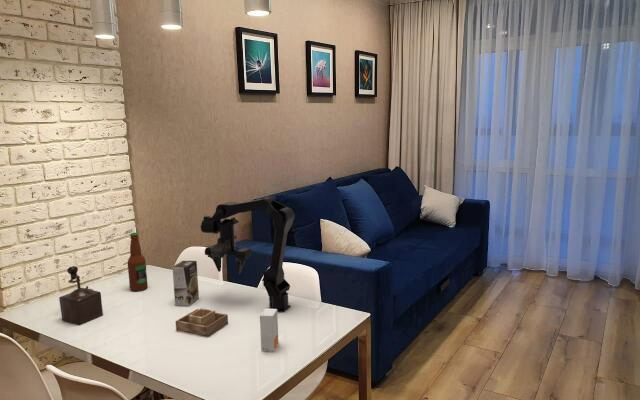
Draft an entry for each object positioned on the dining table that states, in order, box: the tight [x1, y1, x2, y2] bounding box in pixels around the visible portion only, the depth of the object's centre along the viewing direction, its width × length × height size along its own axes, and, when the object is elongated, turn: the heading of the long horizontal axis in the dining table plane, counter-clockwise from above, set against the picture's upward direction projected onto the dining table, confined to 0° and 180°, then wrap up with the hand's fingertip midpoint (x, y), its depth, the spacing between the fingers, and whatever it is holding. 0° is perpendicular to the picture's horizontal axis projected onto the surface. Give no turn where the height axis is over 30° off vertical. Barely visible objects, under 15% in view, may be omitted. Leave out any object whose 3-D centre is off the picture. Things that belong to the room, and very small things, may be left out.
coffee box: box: [172, 260, 200, 307], centre depth 193 cm, size 9×6×16 cm
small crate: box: [188, 307, 216, 326], centre depth 170 cm, size 6×7×4 cm
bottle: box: [127, 232, 149, 293], centre depth 208 cm, size 7×7×25 cm
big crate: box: [175, 308, 229, 338], centre depth 170 cm, size 14×12×4 cm
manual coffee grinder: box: [58, 265, 104, 326], centre depth 181 cm, size 16×11×18 cm
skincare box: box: [259, 307, 279, 353], centre depth 153 cm, size 6×4×12 cm
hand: (229, 272), depth 192 cm, fingers open, 9 cm apart
